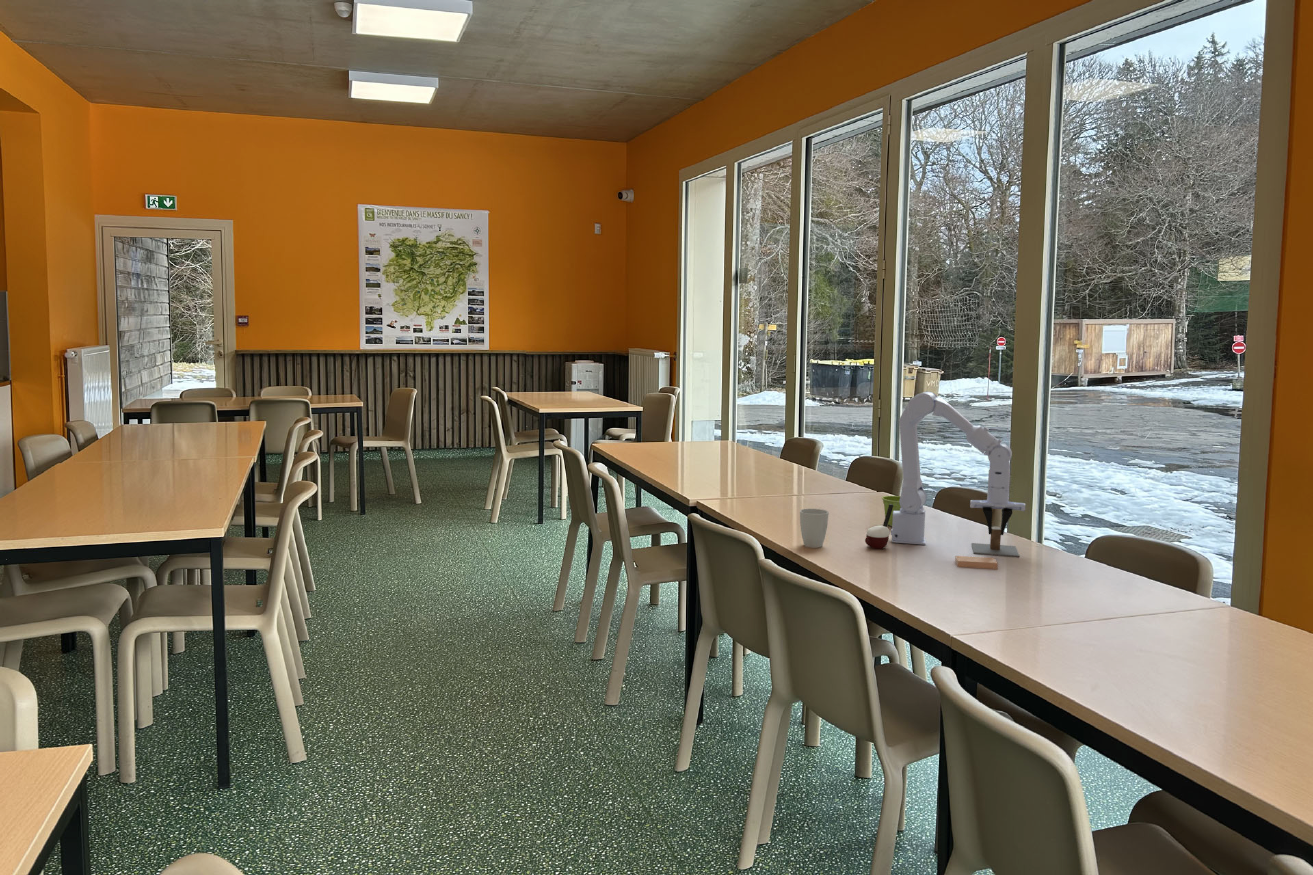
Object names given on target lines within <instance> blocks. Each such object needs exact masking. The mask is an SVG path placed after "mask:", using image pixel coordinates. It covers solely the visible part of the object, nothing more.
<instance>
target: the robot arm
mask: <svg viewBox="0 0 1313 875" xmlns="http://www.w3.org/2000/svg"><path fill="white" fill-rule="evenodd" d="M930 414H932V416H935V417H943V418H944V419H945V420H947V421H948V422H950V423H951V424H952V425H953V426H955V427H956V428H958V429H959V431H962V432H963V433H964V434H965V435H966V441H967V443H969V444H971V446H972V447H974V448H975V449H976V450H978V451H979V452H980V453H981V454H982V455H984V456H987V459H988V461H989V469H988V476H987V477H988V478H987V492H986V493H987V497H986V499H983V500H982V499H971V500H969V501H970V504H969V506H970V508H971V509H975V508H977V509H982V512H983V514H984V517H985V519H986V524H987V528H988V535H991V534H992V527H993V525H992V522H993V510H1001V521H1000V527H1001V536H1004V533H1005V529H1006V526H1007V524H1008V522H1009V520H1010V518H1011V517H1012V515H1013V511H1020V512H1025V511H1026V503H1024V502H1016V501H1009V500H1010V499H1009V498H1010V485H1011V484H1010V482H1011V470H1010V469H1011V462H1010V461H1011V459H1012V457H1013V456H1012V455H1013V452H1012V449H1011V447H1010V446H1009V445H1008V444H1007V443H1004V442H1003V439H1001V438H999V439H998V438H997V437H996V436H994V435H993V434H992V433H991V432H989V429H990V428H988V427H987V426H982V425H974V424H973V423H972V422H970V421H969V420H968V419H967V418H965V416H963V415H962V413H961V412H959V411H958V410H957V409H955V407H953V406H952V405H951V404H950V403H949V402H947V401H946V400H945V399H944V398H941V396H938V395H937V393H935V392H932V391H923V392H921V393H917V394H915V395H914V396H913V397H912V398H911V399H910V400H908V402H907V405H906V406H905V407H904V409H903V411H902V413H901V415H900V417H899V419H898V420H899V421H898V424H899V438H900V451H901V452H900V453H901V455H900V456H901V466H902V477H903V478H902V484H901V485H902V486H901V495H900V496H901V497H900V500H899V503H900V506H901V508H900V511H893V522H892V526H891V529H890V536H891V543H897V544H899V543H900V544H909V545H910V544H912V545H926V537H925V528H926V527H925V526H926V523H925V522H926V509H925V508H924V505H925V504H926V502H927V498H928V497H927V493H926V491H925V489H924V486H923V481H922V478H921V466H920V465H921V464H920V454H919V453H920V450H919V439H918V438H919V437H918V424H919V423H920V422H921V421H922V420H923V419H924V418H925V417H926V416H927V415H930Z"/></svg>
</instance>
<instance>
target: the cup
mask: <svg viewBox="0 0 1313 875" xmlns="http://www.w3.org/2000/svg"><path fill="white" fill-rule="evenodd" d="M799 518H800V519H799V524H800V526H799V527H800V533H801V538H802V542H803V546H804V547H806V548H813V549H815V548H823V545H824V542H825V538H826V535H827V530H828V524H829V523H828V522H829V511H828V510H826V509H821V508H803V509H800V510H799Z"/></svg>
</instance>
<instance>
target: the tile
mask: <svg viewBox="0 0 1313 875" xmlns="http://www.w3.org/2000/svg"><path fill="white" fill-rule="evenodd" d="M954 558H955V559H954V560H955V561H954V562H955V564H956V566H957V567H958V568H974V569H976V568H977V569H987V570H988V569H990V570H991V569H992V570H993V569H994V570H998V564H999V563H998V562H997V560H996V559H995V557H986V556H984V557H983V556H969V555H968V556H967V555H966V556H965V555H955V557H954Z"/></svg>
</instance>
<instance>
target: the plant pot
mask: <svg viewBox="0 0 1313 875" xmlns="http://www.w3.org/2000/svg"><path fill="white" fill-rule="evenodd" d="M900 497H901V495H886V496H885V495H884V496H882V497H881V499H882V502H883V507H884V510H883V511H884V518H885V517H886V513H887V510H888V507H889V504H893V509H892V512H891V515H890V519H889V522H888V525H887V526H891V527H892V522H893V511H900V508H901V506H900V503H899V500H900Z"/></svg>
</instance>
